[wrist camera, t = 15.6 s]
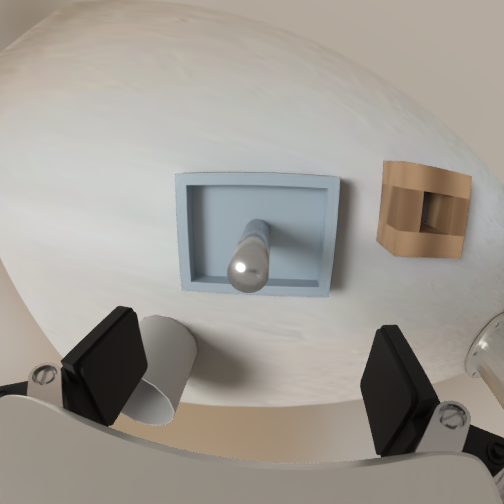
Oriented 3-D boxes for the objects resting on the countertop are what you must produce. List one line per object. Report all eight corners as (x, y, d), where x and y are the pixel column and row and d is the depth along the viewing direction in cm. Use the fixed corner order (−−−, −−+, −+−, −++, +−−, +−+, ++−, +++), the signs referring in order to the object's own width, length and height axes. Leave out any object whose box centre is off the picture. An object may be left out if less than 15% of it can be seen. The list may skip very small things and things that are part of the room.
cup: (198, 322, 30) (171, 383, 20) (198, 373, 32) (178, 432, 23) (131, 309, 30) (89, 359, 21) (139, 359, 33) (108, 411, 23)
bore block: (446, 172, 22) (471, 176, 18) (437, 244, 25) (460, 258, 20) (383, 160, 23) (404, 161, 18) (376, 240, 25) (394, 256, 21)
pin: (271, 219, 25) (269, 255, 15) (270, 244, 25) (267, 293, 16) (244, 218, 25) (226, 253, 15) (244, 243, 26) (227, 291, 16)
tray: (333, 176, 24) (340, 177, 21) (324, 285, 27) (328, 297, 25) (184, 172, 25) (175, 174, 22) (189, 280, 28) (181, 290, 26)
